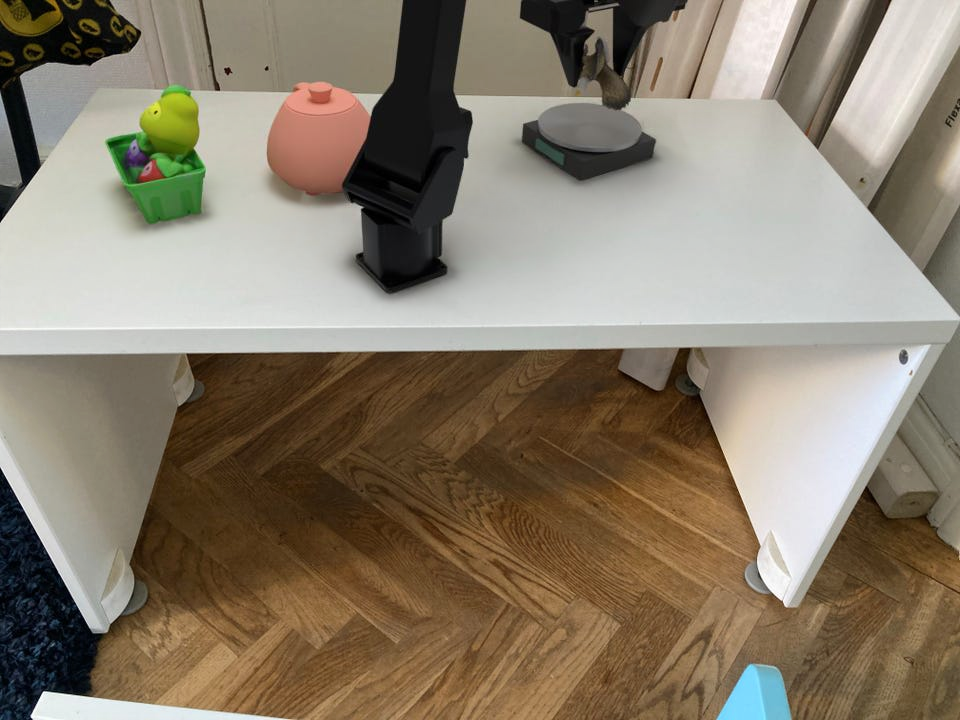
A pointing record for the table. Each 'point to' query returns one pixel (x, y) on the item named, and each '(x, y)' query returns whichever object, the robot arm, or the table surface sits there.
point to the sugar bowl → (316, 137)
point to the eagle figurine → (603, 77)
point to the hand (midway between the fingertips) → (595, 80)
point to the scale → (586, 154)
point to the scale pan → (589, 127)
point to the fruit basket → (163, 158)
